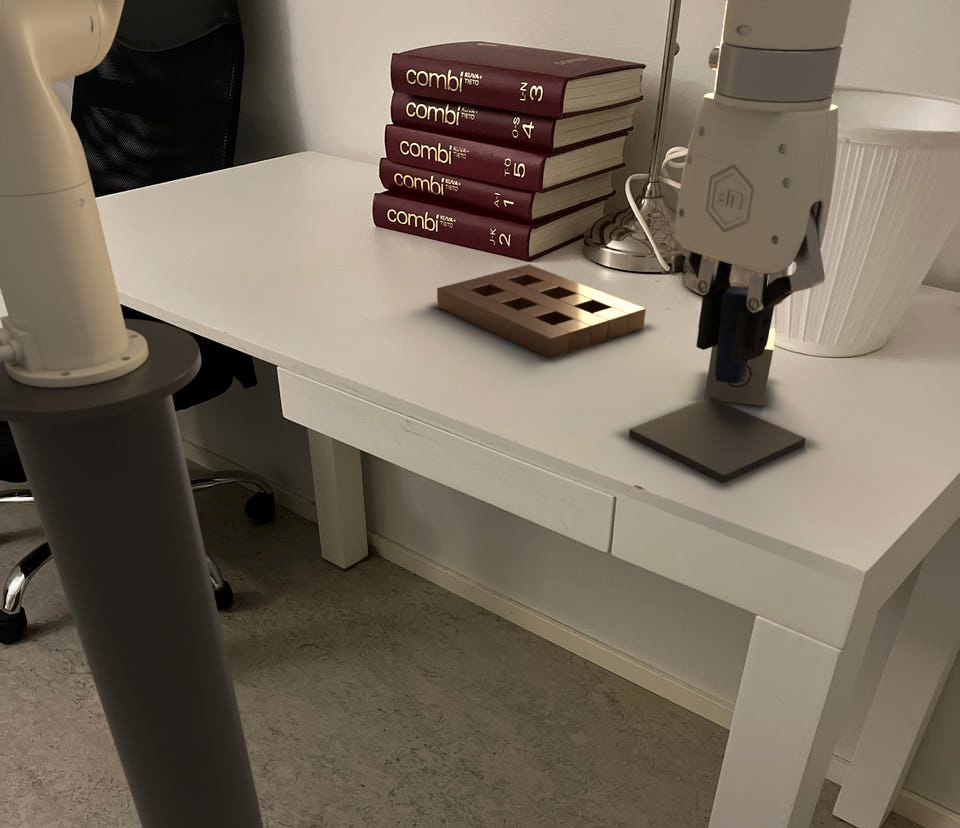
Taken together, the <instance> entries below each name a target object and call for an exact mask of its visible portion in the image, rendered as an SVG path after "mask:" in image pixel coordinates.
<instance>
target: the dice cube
mask: <svg viewBox="0 0 960 828" xmlns="http://www.w3.org/2000/svg"><path fill="white" fill-rule="evenodd" d="M775 337H776V328H774V327H770V332H769V337H768V342H767V345H766V347H765V349H764V352H763V354H762V355H761V356H759V357H756V358H753V359H751V360H748V361H747V365H746V370H745V374H744V376H743V378H742V379H741V380H740V381H739V382H738V383H729V382H720V381H717V380H716V378H715V364H716V356H717V347H718V345H716V346H713V347H711V353H710V359H709V363H708V364H709V365H708V372H707V377H706V384H705V391H704V399H703V400H705V399H707V398H710V397H712V398H714V399H716V400H719V401H721V402H723V403H726V402H727V403H733V404H743V405H753V406H759V407H760V406H762V407H763V405H764V400H765V395H766V389H767V385H768V379H769V375H770V369H771V365H772V359H773V354H774V347H775V339H776V338H775Z"/></svg>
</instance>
